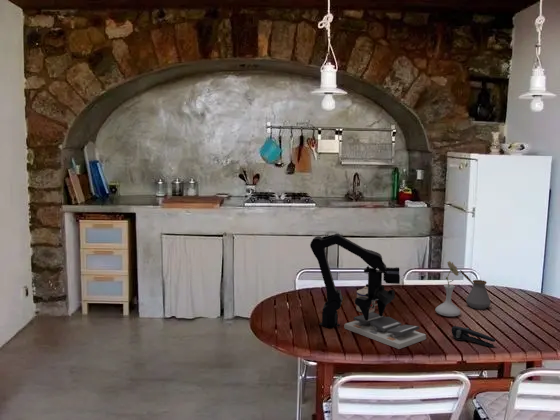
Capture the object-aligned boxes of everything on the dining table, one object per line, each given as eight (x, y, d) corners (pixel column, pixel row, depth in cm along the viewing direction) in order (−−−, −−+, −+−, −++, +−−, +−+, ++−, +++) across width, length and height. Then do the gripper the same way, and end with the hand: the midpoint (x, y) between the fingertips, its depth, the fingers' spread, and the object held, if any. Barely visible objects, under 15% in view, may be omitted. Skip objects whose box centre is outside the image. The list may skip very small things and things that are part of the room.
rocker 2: (382, 331, 221) (383, 329, 220) (369, 324, 226) (370, 321, 225) (401, 325, 228) (401, 323, 228) (388, 318, 233) (388, 316, 233)
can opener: (447, 339, 223) (448, 326, 222) (454, 334, 228) (455, 322, 227) (491, 350, 211) (492, 336, 211) (497, 345, 217) (498, 332, 216)
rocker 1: (366, 324, 227) (366, 321, 227) (353, 319, 233) (353, 317, 232) (384, 318, 235) (384, 316, 235) (372, 314, 240) (372, 311, 240)
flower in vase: (461, 319, 247) (465, 265, 244) (435, 317, 249) (439, 264, 246) (458, 310, 260) (461, 259, 257) (433, 308, 262) (436, 258, 259)
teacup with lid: (359, 313, 252) (360, 289, 251) (353, 307, 261) (354, 284, 260) (383, 313, 254) (384, 288, 253) (377, 307, 263) (378, 283, 262)
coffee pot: (495, 309, 263) (497, 279, 261) (475, 311, 260) (478, 280, 258) (467, 297, 283) (469, 269, 281) (448, 298, 280) (450, 270, 278)
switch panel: (398, 349, 210) (399, 340, 210) (344, 328, 232) (344, 320, 232) (425, 339, 221) (426, 331, 221) (371, 320, 244) (371, 313, 243)
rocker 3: (400, 335, 214) (400, 332, 214) (387, 333, 219) (386, 330, 219) (419, 328, 221) (419, 326, 221) (405, 326, 227) (405, 324, 227)
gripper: (375, 290, 218) (374, 327, 220) (404, 282, 230) (402, 318, 231) (354, 284, 226) (353, 320, 228) (383, 277, 238) (382, 312, 240)
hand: (373, 318), depth 232 cm, fingers open, 9 cm apart
